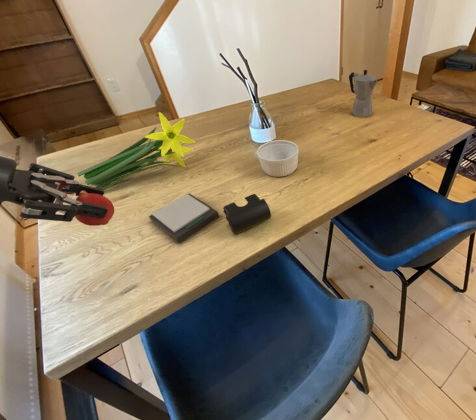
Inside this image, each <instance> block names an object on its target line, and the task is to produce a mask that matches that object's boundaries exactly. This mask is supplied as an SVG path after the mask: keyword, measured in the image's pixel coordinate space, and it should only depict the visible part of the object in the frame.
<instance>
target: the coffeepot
mask: <svg viewBox="0 0 476 420" xmlns="http://www.w3.org/2000/svg"><path fill="white" fill-rule="evenodd" d="M348 81H349V86H350V91H351V93H353V94H355V98H354V100H353V103H352V109H351V114H352V115H353V116H355V117H357V118H367V117H370V116H372V114H373V102H372V100H373V99H372V95H373V93H374V89H375V86H376V85H377V84H378V83H379V81H378V80H377V76H375V75H373V74H368V70H367V69H363V73H362V74H359V73H356V72H352V71H351V73H350V74H349V75H348Z"/></svg>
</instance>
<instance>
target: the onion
mask: <svg viewBox="0 0 476 420" xmlns="http://www.w3.org/2000/svg"><path fill="white" fill-rule="evenodd" d="M75 200H77V201H79V202H81V203H82V202H85V203H90V204H95V205H99V206H104V207H107V209H108V212H107V214H106V216H105V217H104V218H102V219H100V218H94V217H87V216H82V215H76V216H75V217H74V218H75V220H77V221H78V222H79V223H81V224H83V225H86V226H88V227H89V226H91V227H93V226H94V227H97V226H106V225H108V224H109V222H110V221H111V220H112V218H113V217H114V214H115V207H114V204H113V202H112V201H111V200H110V199H109V198H108V197H106V196H104V195H103V196H102V195H99V194H94V193H87V192H86V191H81V192H80V194H79V196H76V198H75Z"/></svg>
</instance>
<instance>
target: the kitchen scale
mask: <svg viewBox="0 0 476 420" xmlns="http://www.w3.org/2000/svg"><path fill="white" fill-rule="evenodd" d="M148 217H149V219H150V220H151V222H152V223H153V224H154V225H155V226H157V227H158V228H159V229H161V230H162V231H163V232H164V233H165V234H167V235H168V236H169V237H170V238H171V239H173V240H174V241H175V242H176V243H178V244H179V245H180V244H181V243H183V242H184V241H186V240H187V239H188V238H191V237H192V236H193V235H194V234H196V233H198V232H199V231H200V230H202V229H203V228H205V227H206V226H208V225H209V224H210V223H212V222H214V221H215V220H217V219H219V218H220V215H219V212H218V210H216V209H215V208H213V207H211V206H210V205H208V204H207V203H205V202H204V201H202V200H200V199H199V198H198V197H196V196H194V194H191V193H186V194H184V195H182V196H181V197H179V198H177V199H175V200H174V201H172V202H170V203H168V204H166V205H165V206H163V207H161V208H160V209H157V210H156V211H154V212H153V213H151V214H150V215H149V216H148Z"/></svg>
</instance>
